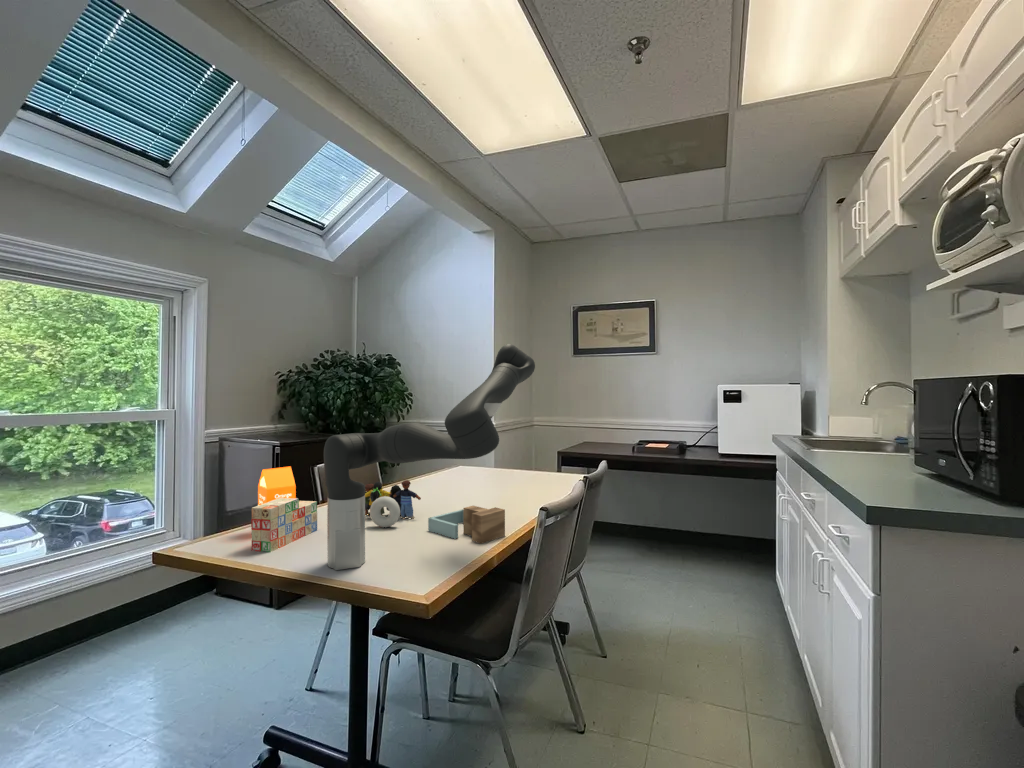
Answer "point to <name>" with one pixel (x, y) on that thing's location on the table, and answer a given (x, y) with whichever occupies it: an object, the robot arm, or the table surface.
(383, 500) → the donut
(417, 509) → the table surface
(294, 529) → the stack of blocks
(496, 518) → the tee block
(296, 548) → the table surface
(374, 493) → the doll family
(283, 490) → the orange juice
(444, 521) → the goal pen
